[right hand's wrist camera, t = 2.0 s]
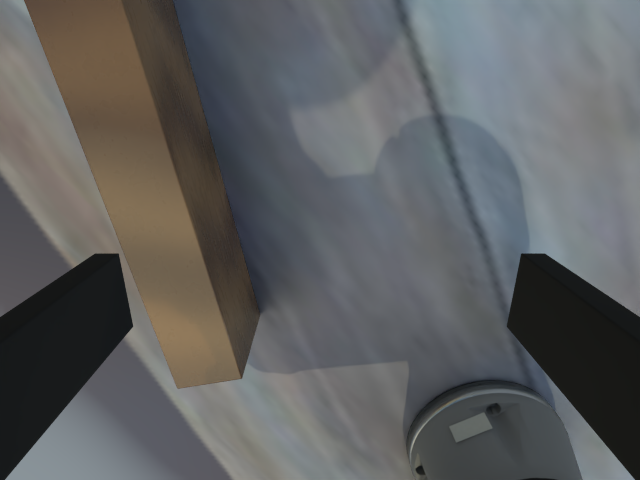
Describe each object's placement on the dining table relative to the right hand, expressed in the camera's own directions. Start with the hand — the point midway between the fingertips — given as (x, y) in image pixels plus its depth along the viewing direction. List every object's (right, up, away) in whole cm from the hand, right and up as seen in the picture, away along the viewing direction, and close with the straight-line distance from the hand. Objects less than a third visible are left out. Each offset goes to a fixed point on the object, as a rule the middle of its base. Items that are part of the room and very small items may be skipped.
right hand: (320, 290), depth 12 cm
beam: (-15, +33, +7) cm, 37 cm away
